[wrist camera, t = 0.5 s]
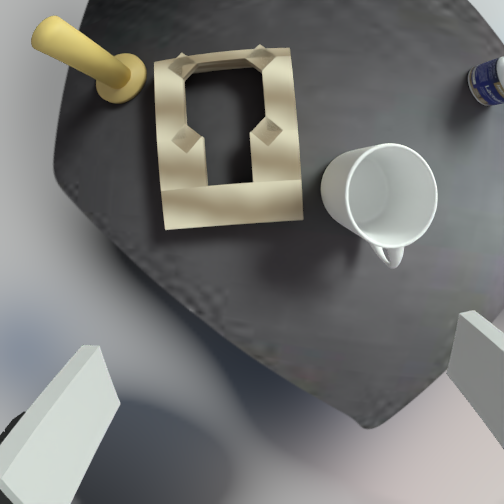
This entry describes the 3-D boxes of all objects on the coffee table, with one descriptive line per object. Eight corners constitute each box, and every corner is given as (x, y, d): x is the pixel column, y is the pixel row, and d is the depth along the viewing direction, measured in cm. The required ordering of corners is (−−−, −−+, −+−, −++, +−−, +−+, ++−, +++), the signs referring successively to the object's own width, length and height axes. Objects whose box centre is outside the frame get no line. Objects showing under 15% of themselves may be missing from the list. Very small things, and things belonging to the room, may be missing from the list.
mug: (336, 264, 36) (365, 299, 26) (309, 161, 34) (332, 156, 23) (402, 243, 35) (449, 268, 25) (379, 143, 33) (424, 134, 22)
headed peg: (100, 62, 31) (22, 16, 15) (146, 51, 30) (83, -12, 15) (99, 108, 32) (13, 79, 16) (147, 98, 32) (75, 53, 16)
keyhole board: (162, 66, 31) (154, 57, 28) (286, 53, 31) (289, 43, 27) (172, 225, 35) (165, 229, 32) (299, 215, 35) (303, 219, 32)
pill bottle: (466, 97, 31) (513, 84, 21) (465, 61, 29) (510, 42, 20) (495, 112, 31) (543, 105, 21) (495, 76, 30) (540, 63, 20)
